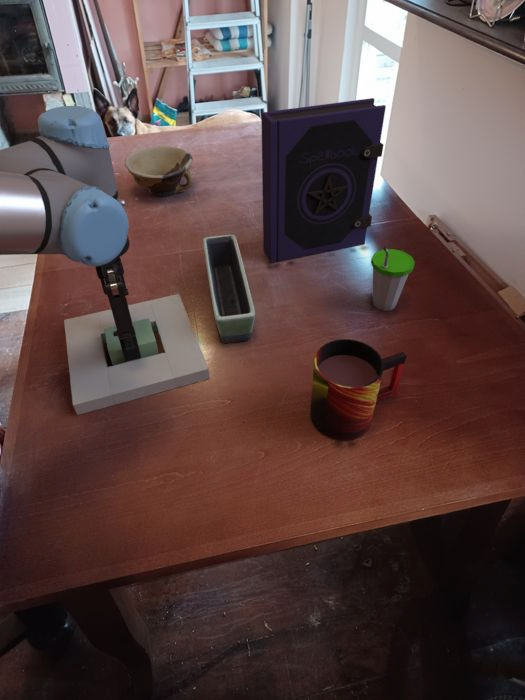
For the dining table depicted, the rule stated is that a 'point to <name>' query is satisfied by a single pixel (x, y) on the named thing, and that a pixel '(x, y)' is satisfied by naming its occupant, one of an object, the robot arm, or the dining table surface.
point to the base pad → (139, 375)
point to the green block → (143, 338)
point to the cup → (389, 276)
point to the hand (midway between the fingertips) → (129, 342)
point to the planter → (229, 288)
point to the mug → (349, 387)
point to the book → (318, 176)
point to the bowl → (161, 169)
